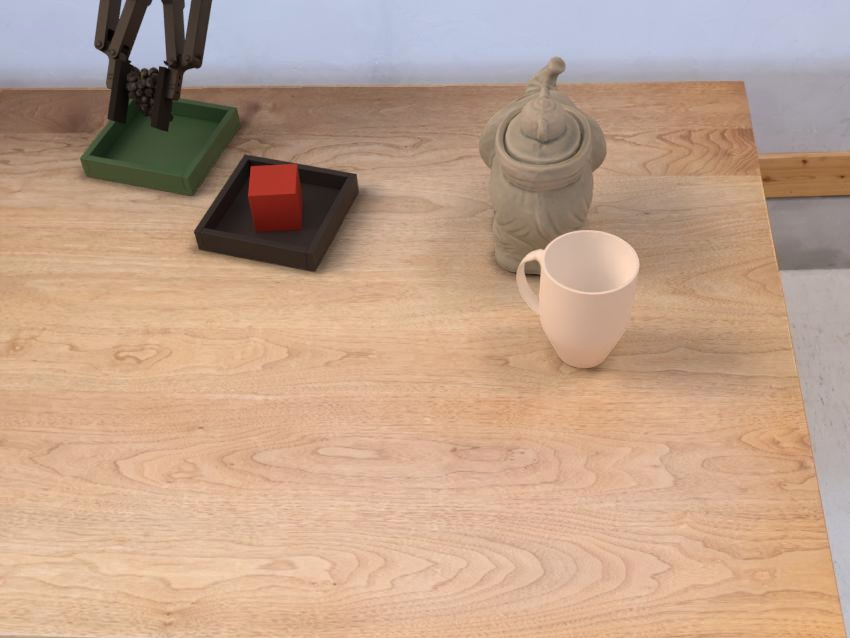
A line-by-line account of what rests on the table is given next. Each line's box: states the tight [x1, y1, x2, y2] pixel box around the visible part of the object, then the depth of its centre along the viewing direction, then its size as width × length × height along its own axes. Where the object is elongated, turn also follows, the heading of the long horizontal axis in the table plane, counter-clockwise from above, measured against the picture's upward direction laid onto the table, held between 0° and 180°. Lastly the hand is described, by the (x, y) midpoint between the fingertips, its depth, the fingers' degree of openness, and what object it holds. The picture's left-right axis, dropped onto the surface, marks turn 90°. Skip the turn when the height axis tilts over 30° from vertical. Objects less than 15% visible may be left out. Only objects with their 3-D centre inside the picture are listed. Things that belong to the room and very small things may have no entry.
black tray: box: [193, 154, 360, 273], centre depth 123 cm, size 14×14×3 cm
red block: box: [248, 164, 303, 232], centre depth 121 cm, size 5×5×5 cm
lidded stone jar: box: [478, 56, 608, 276], centre depth 114 cm, size 16×15×19 cm
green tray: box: [79, 97, 242, 197], centre depth 131 cm, size 14×14×3 cm
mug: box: [515, 229, 640, 369], centre depth 106 cm, size 12×9×12 cm
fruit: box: [125, 66, 174, 122], centre depth 127 cm, size 5×4×8 cm
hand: (137, 124), depth 125 cm, fingers closed on fruit, 5 cm apart
